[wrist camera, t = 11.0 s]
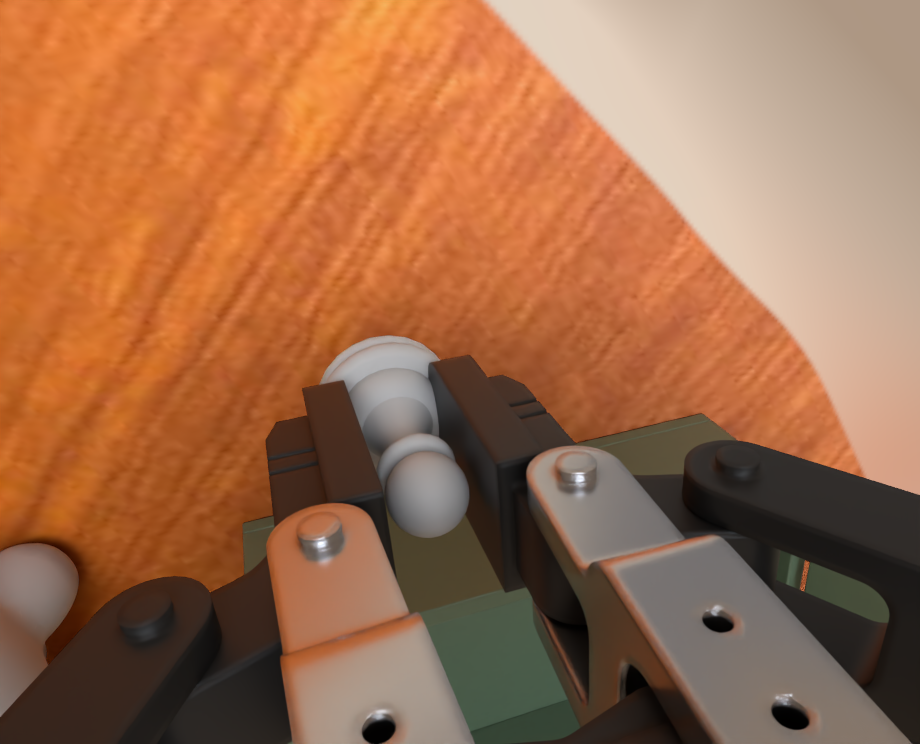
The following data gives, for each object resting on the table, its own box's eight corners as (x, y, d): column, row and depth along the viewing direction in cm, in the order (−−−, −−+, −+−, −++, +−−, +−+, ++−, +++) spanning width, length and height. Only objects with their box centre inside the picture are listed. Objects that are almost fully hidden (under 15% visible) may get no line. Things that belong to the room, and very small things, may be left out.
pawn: (475, 391, 14) (559, 509, 10) (378, 479, 14) (428, 622, 11) (388, 302, 13) (451, 402, 9) (283, 399, 13) (304, 533, 9)
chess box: (311, 779, 29) (330, 940, 24) (242, 522, 23) (247, 661, 18) (681, 658, 33) (767, 774, 28) (702, 412, 27) (816, 500, 22)
